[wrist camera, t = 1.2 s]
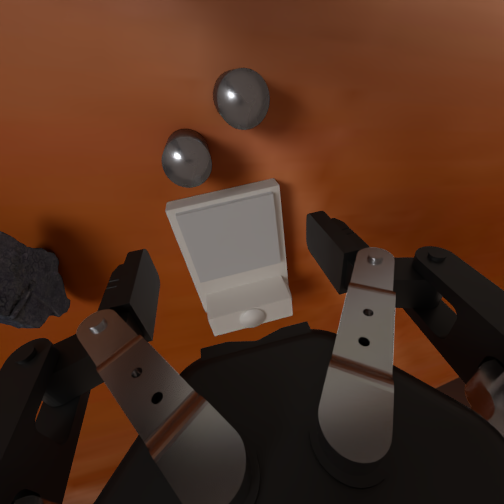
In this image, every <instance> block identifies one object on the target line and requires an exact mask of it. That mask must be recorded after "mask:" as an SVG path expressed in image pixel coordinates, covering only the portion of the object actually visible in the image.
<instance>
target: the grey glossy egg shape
mask: <svg viewBox="0 0 504 504" xmlns="http://www.w3.org/2000/svg"><path fill="white" fill-rule="evenodd" d="M213 101H214V105H215V107H216V109H217V111H218V112H219V114H220V115H221V116H222V117H223V119H224V120H225V121H226V122H227V123H228V124H229V125H231V126H232V127H234V128H236V129H241V130H247V129H251V128H253V127H255V126H257V125H258V124H259V123H260V122H261V121H262V120H263V119H264V117H265V116H266V114H267V111H268V108H269V102H270V96H269V90H268V87H267V84H266V82H265V81H264V79H263V78H262V77H261V76H260V75H259V74H258V73H257V72H255V71H254V70H251V69H248V68H239V69H233V70H229V71H226V72H224V73H223V74H222V75H221V76H220V77H219V78H218V79H217V81H216V83H215V86H214V89H213Z"/></svg>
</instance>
